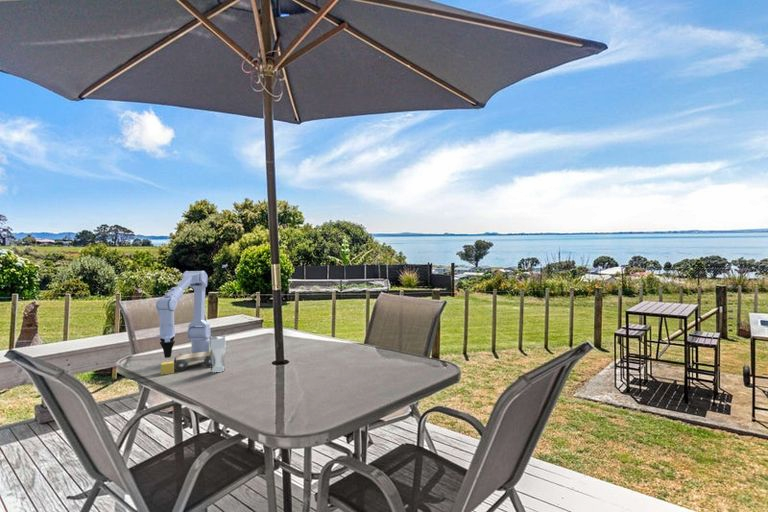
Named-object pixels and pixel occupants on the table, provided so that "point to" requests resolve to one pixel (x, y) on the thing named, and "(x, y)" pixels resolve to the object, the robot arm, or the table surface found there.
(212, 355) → the beer glass
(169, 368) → the block
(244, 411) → the table surface
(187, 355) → the dolly
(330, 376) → the table surface
